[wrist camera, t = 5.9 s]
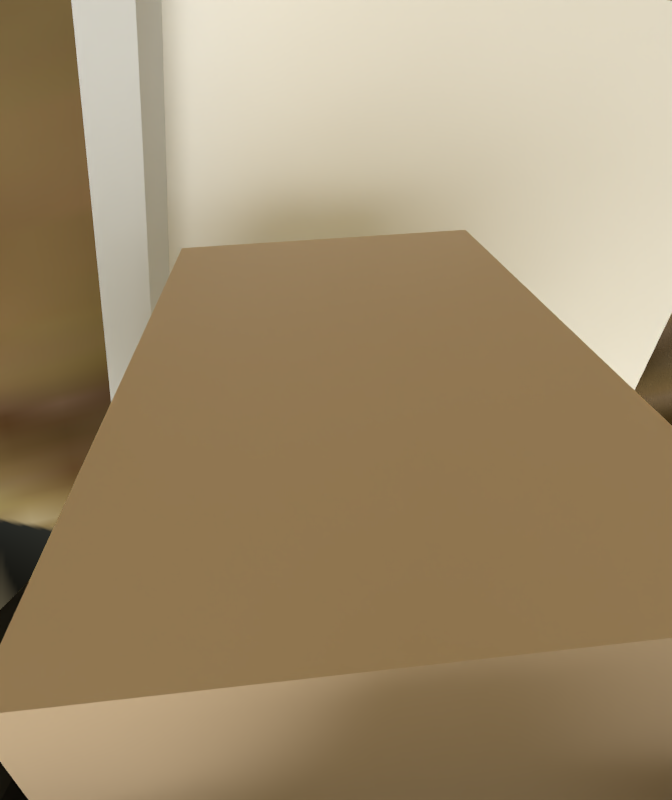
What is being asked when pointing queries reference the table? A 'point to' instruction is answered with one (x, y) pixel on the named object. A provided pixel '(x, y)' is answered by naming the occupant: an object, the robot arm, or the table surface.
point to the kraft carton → (353, 548)
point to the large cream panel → (387, 143)
